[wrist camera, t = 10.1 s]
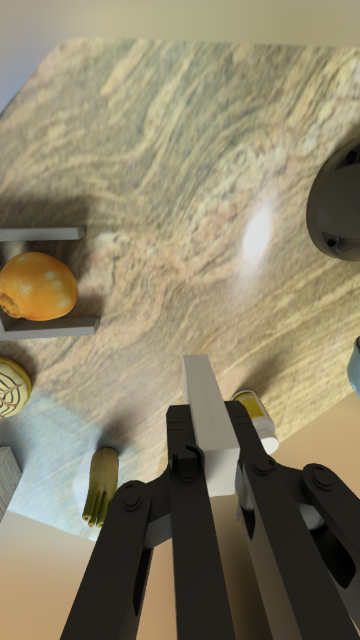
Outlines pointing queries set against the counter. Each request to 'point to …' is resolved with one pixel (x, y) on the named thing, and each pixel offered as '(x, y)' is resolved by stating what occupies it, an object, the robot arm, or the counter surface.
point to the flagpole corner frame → (12, 329)
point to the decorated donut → (13, 387)
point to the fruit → (37, 287)
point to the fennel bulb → (101, 486)
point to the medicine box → (7, 478)
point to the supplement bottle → (259, 419)
